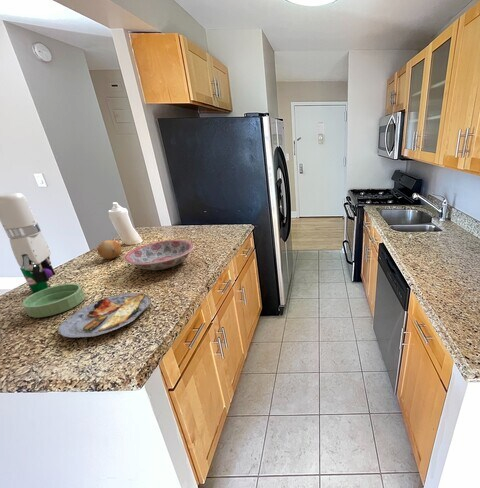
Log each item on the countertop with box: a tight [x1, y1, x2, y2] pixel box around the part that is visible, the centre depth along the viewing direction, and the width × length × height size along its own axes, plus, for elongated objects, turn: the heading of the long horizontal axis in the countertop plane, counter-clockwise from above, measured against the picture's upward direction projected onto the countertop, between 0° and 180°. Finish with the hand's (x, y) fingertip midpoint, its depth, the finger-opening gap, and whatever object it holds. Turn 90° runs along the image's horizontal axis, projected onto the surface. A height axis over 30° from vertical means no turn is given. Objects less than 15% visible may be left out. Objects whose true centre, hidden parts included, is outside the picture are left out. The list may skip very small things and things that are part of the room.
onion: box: [97, 239, 123, 260], centre depth 135 cm, size 10×10×10 cm
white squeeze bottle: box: [107, 202, 144, 246], centre depth 152 cm, size 12×11×25 cm
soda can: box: [19, 262, 49, 293], centre depth 106 cm, size 5×5×12 cm
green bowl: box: [21, 282, 86, 318], centre depth 97 cm, size 16×16×5 cm
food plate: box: [57, 292, 152, 339], centre depth 90 cm, size 25×23×4 cm
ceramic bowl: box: [124, 239, 195, 271], centre depth 127 cm, size 29×29×8 cm
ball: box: [43, 269, 53, 279], centre depth 93 cm, size 4×4×4 cm
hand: (46, 278), depth 93 cm, fingers closed on ball, 3 cm apart
